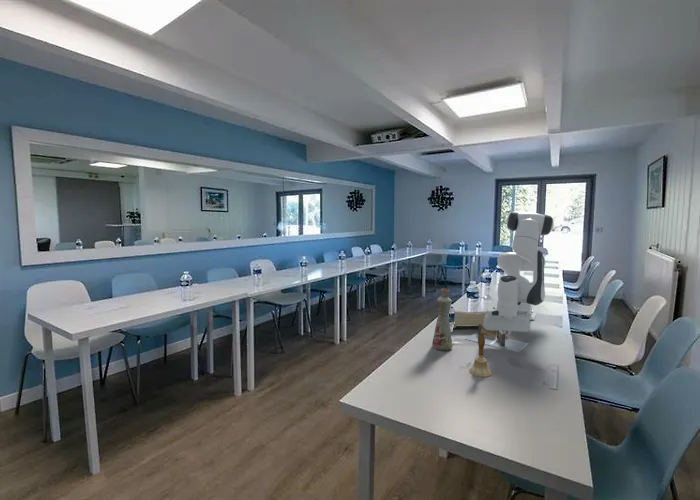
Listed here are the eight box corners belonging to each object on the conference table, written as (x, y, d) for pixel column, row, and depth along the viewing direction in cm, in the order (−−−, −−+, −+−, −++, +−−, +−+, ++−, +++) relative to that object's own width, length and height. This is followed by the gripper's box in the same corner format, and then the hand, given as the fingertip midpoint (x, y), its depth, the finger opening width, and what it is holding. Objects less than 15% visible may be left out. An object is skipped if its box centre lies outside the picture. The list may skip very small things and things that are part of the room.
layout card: (477, 331, 188) (477, 331, 188) (528, 343, 172) (528, 343, 172) (465, 339, 177) (465, 338, 177) (518, 352, 161) (518, 352, 161)
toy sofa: (483, 325, 201) (484, 307, 199) (490, 330, 192) (491, 311, 191) (446, 325, 199) (446, 307, 198) (451, 330, 191) (452, 311, 190)
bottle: (453, 352, 161) (455, 290, 158) (432, 350, 162) (434, 289, 159) (451, 345, 169) (454, 286, 166) (431, 343, 171) (433, 285, 168)
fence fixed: (478, 333, 186) (479, 322, 185) (501, 338, 178) (501, 327, 178) (477, 334, 184) (478, 323, 184) (499, 339, 177) (500, 327, 176)
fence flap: (497, 339, 177) (498, 328, 176) (501, 339, 176) (501, 329, 176) (501, 345, 168) (502, 335, 167) (505, 346, 167) (505, 335, 167)
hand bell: (477, 378, 136) (479, 337, 134) (464, 369, 144) (466, 330, 142) (496, 375, 138) (498, 335, 136) (482, 366, 146) (484, 328, 144)
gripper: (528, 309, 170) (527, 338, 171) (483, 308, 173) (482, 336, 175) (533, 313, 163) (531, 343, 165) (485, 312, 167) (484, 340, 168)
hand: (505, 339), depth 170 cm, fingers closed
